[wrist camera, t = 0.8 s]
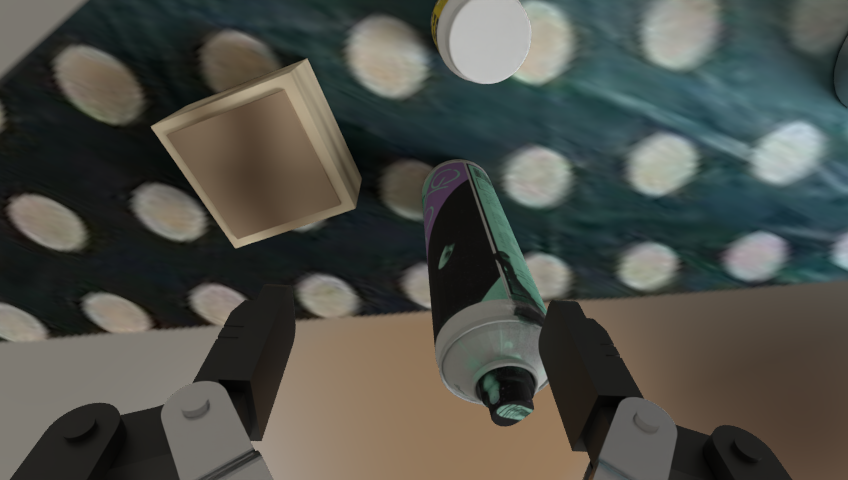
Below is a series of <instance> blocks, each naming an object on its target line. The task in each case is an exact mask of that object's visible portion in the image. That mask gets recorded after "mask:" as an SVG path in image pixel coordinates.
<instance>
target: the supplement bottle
mask: <svg viewBox="0 0 848 480" xmlns="http://www.w3.org/2000/svg"><path fill="white" fill-rule="evenodd" d="M431 33H432V38H433V40H434V43H435V45H436V47H437V49H438V51H439V53H440V55H441V58H442V59H443V61H444V63H445V64H446V65H447V67H448V68H449V69H450V70H451V71H452V72H453V73H455V74H456V75H457V76H459V77H461V78H463V79H465V80H468V81H473V82H476V83H480V84H492V83H497V82H500V81H502V80H504V79H506V78H508V77H509V76H511V75H512V74H513V73H514V72H515V71H516V70H517V69H518V68H519V67H520V66H521V65H522V63H523V62H524V60H525V58H526V56H527V54H528V51H529V48H530V44H531V25H530V21H529V18H528V15H527V13H526V11H525V9H524V8H523V7H522V5H521V3H520V2H519V0H437V2H436V4H435V6H434V9H433V12H432V16H431Z"/></svg>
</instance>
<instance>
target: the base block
mask: <svg viewBox="0 0 848 480" xmlns="http://www.w3.org/2000/svg"><path fill="white" fill-rule="evenodd" d="M151 128H152V129H153V131H154V132H155V134H156V135H157V137H158V138H159V139H160V141H161V142H162V144H163V145H164V147H165V148H166V149H167V151H168V152H169V154H170V155H171V157H172V158H173V160H174V161H175V162H176V164H177V165H178V167H179V168H180V170H181V171H182V172H183V174H184V175H185V177H186V178H187V180H188V181H189V182H190V184H191V185H192V187H193V188H194V190H195V191H196V193H197V194H198V195H199V197H200V198H201V200H202V201H203V203H204V204H205V205H206V207H207V208H208V210H209V211H210V213H211V214H212V215H213V217H214V218H215V220H216V221H217V223H218V224H219V226H220V227H221V228H222V230H223V231H224V233H225V234H226V236H227V237H228V238H229V240H230V241H231V243H232V244H233V246H234V247H235V248H238V247H241V246H244V245H247V244H250V243H253V242H256V241H259V240H262V239H265V238H268V237H271V236H274V235H277V234H280V233H283V232H286V231H289V230H292V229H295V228H298V227H301V226H304V225H307V224H310V223H313V222H316V221H319V220H322V219H325V218H328V217H331V216H334V215H337V214H340V213H343V212H346V211H349V210H352V209H355V208H356V204H357V199H358V195H359V190H360V185H361V180H362V178H361V175H360V173H359V171H358V169H357V167H356V164H355V162H354V160H353V158H352V156H351V153H350V151H349V149H348V147H347V145H346V142H345V140H344V138H343V136H342V134H341V131H340V129H339V127H338V125H337V123H336V120H335V118H334V116H333V114H332V112H331V109H330V107H329V105H328V103H327V101H326V99H325V96H324V94H323V92H322V90H321V88H320V85H319V83H318V81H317V79H316V77H315V74H314V72H313V70H312V68H311V66H310V63H309V61H308V59H305V60H302V61H300V62H297V63H294V64H292V65H289V66H287V67H284V68H282V69H279V70H276V71H274V72H271V73H269V74H266V75H264V76H261V77H259V78H256V79H253V80H251V81H248V82H246V83H243V84H241V85H238V86H236V87H233V88H230V89H228V90H225V91H223V92H220V93H218V94H215V95H212V96H210V97H207V98H205V99H202V100H200V101H197V102H195V103H192V104H189V105H187V106H185V107H184V108H182V109H180V110H178V111H177V112H175V113H173V114H172V115H170V116H168V117H166V118H165V119H163V120H161V121H159V122H158V123H156V124H154V125H152V126H151Z"/></svg>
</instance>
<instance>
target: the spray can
mask: <svg viewBox="0 0 848 480" xmlns="http://www.w3.org/2000/svg"><path fill="white" fill-rule="evenodd" d="M422 204H423V215H424V227H425V239H426V250H427V262H428V273H429V285H430V297H431V308H432V319H433V331H434V343H435V355H436V361H437V364H438V367H439V372H440V376H441V379H442V382H443V383H444V385H445V386H446V387H447V389H448V390H449V391H451V392H452V393H453V394H454V395H456V396H457V397H459V398H461V399H463V400H466V401H469V402H472V403H476V404H482V405H483V406H486V407H488V408H489V411H490V415H491V419H492V421H493V422H494V423H495V424H497V425H499V426H511V425H513V424H515V423H517V422H519V421H521V420H522V419H524V418H525V417H526V416H527V415H529V414H530V413H531V412H532V411H533V410H534V406H533V401H532V398H533V396H534V395H535V394H536V393H537V392H538V391H540V390H541V389H543V388H544V387H545V386H546V385H547V384H548V383H549V381H548V378H547V375H546V372H545V370H544V367H543V364H542V361H541V358H540V355H539V348H538V341H539V335H540V332H541V329H542V325H543V322H544V319H545V316H546V313H547V310H546V308H545V306H544V303H543V301H542V299H541V297H540V294H539V292H538V290H537V287H536V285H535V283H534V280H533V278H532V276H531V274H530V271H529V269H528V267H527V264H526V262H525V260H524V257H523V255H522V253H521V251H520V248H519V246H518V244H517V241H516V239H515V237H514V234H513V232H512V230H511V228H510V225H509V223H508V221H507V218H506V216H505V214H504V211H503V209H502V207H501V205H500V202H499V200H498V198H497V195H496V193H495V191H494V188H493V186H492V184H491V182H490V179H489V177H488V176H487V174H486V173H485V171H484V170H483V169H482V168H481V167H480V166H478V165H477V164H475V163H473V162H471V161H468V160H462V159H455V160H449V161H446V162H443V163H441V164H439V165H438V166H436V167H435V168H434V169H433V170H432V171H431V172H430V173H429V174H428V176H427V177H426V179H425V181H424V184H423V188H422Z"/></svg>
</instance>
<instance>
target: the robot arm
mask: <svg viewBox="0 0 848 480" xmlns="http://www.w3.org/2000/svg"><path fill="white" fill-rule="evenodd" d="M834 85H835V90H836V94H837V96H838V98H839V99H840V101H841V103H843V104H844V105H845V106H846V107H847V108H848V36H847V38H846V40H845V42H844V44H843V46H842V48H841V50H840V53H839V55H838V59H837V62H836V66H835V71H834ZM295 326H296V324H295V313H294V302H293V292H292V287H291V286H290V285H272V284H265V285H264V286H263V288H262V290H261V292H260V294H259V296H258V298H257V300H256V301H250V300H245V301H244V302H242V303H241V304H240V305H239V306H238V307H236V308H235V309H234V310H233V311H232V312H231V313H230V315H229V317H228V319H227V321H226V322H225V324H224V328H222V330H221V332H220V333H219V335H218V339H216V341H215V343H214V345H213V347H212V348H211V350H210V352H209V354H208V356H207V358H206V359H205V361H204V363H203V365H202V367H201V368H200V371H199V372H198V374H197V376H196V378H195V379H194V381H193V383H192V384H189V385H187V386H185V387H182V388H181V389H179V390H178V391H176V392H175V393H174V394H172V396H171V397H170V398H169V399H168V400H167V401H166V403H165V404H163V405H161V406H158V407H155V408H151V409H146V410H142V411H137V412H133V413H128V414H124V415H120V413H119V411H118V410H117V408H115V407H114V406H113V405H110V404H106V403H93V404H88V405H84V406H81V407H78V408H76V409H73V410H72V411H70V412H68V413H66V414H64V415H63V416H61V417H60V418H59V419H57V420H56V421H55V422H54V423H53V424H52V425H51V426H50V427H49V428H48V429H47V431H45V433H44V434H43V435H42V437H41V438H40V440H39V441H38V442H37V444H36V445H35V446H34V448H33V449H32V450H31V452H30V453H29V454H28V456H27V457H26V459H25V460H24V461H23V463H22V464H21V465H20V467H19V468H18V469H17V471H16V472H15V473H14V475H13V476H12V478H11V479H10V480H273V478H272V476H271V474H270V471H269V469H268V467H267V465H266V463H265V461H264V459H263V457H262V455H261V454H260V452H259V451H255V449H254V448H253V446H252V444H251V441H262V438H263V435H264V432H265V429H266V426H267V423H268V419H269V416H270V413H271V410H272V407H273V404H274V401H275V398H276V395H277V392H278V389H279V386H280V382H281V380H282V377H283V373H284V370H285V367H286V364H287V361H288V358H289V355H290V352H291V349H292V346H293V342H294V338H295ZM538 348H539V355H540V358H541V361H542V364H543V367H544V370H545V372H546V375H547V378H548V381H549V384H550V387H551V390H552V393H553V396H554V399H555V402H556V404H557V407H558V410H559V413H560V416H561V419H562V422H563V425H564V428H565V431H566V434H567V437H568V440H569V443H570V445H571V448H572V451H583V452H584V451H585V452H588V455H589V458H590V462H589V464H588V467H587V469H586V471H585V474H584V477H583V479H582V480H792V479H791V477H790V476H789V474H788V473H787V472H786V470H785V469H784V467H783V466H782V464H781V463H780V462H779V460H778V459H777V457H776V456H775V455H774V453H773V452H772V451H771V449H770V448H769V447H768V446H767V445H766V444H765V443H764V442H762V441H761V440H760V439H759V438H757V437H756V436H754V435H753V434H751V433H749V432H747V431H745V430H743V429H741V428H738V427H735V426H730V425H723V426H719V427H717V428H716V429H715V430H714V431H713V433H712V434H711V435H710V436H709V435H706V434H703V433H699V432H696V431H693V430H690V429H687V428H683V427H680V426H678V425H675V424H674V422H673V420H672V419H671V417H670V416H669V415H668V414H667V413H666V412H665V411H664V410H663V409H662V408H661V407H659V406H658V405H656V404H654V403H653V402H651V401H648V400H645V399H644V398H643V396H642V394H641V392H640V390H639V389H638V387H637V385H636V383H635V382H634V380H633V378H632V376H631V374H630V372H629V371H628V369H627V367H626V366H625V363H624V362H623V360H622V358H620V354H619V353H618V351H617V349H616V347H614V344H613V342H612V340H611V338H610V337H609V335H608V333H607V331H606V330H605V329H604V328H603V327H602V326H601V325H600V324H598V323H597V322H596V321H595V320H594V319H590V318H586V316H585V315H584V313H583V311H582V309H581V307H580V305H579V303H578V302H575V301H558V300H552V301H551V302H550V304H549V306H548V310H547V313H546V316H545V319H544V322H543V325H542V329H541V332H540V335H539V341H538Z"/></svg>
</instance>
